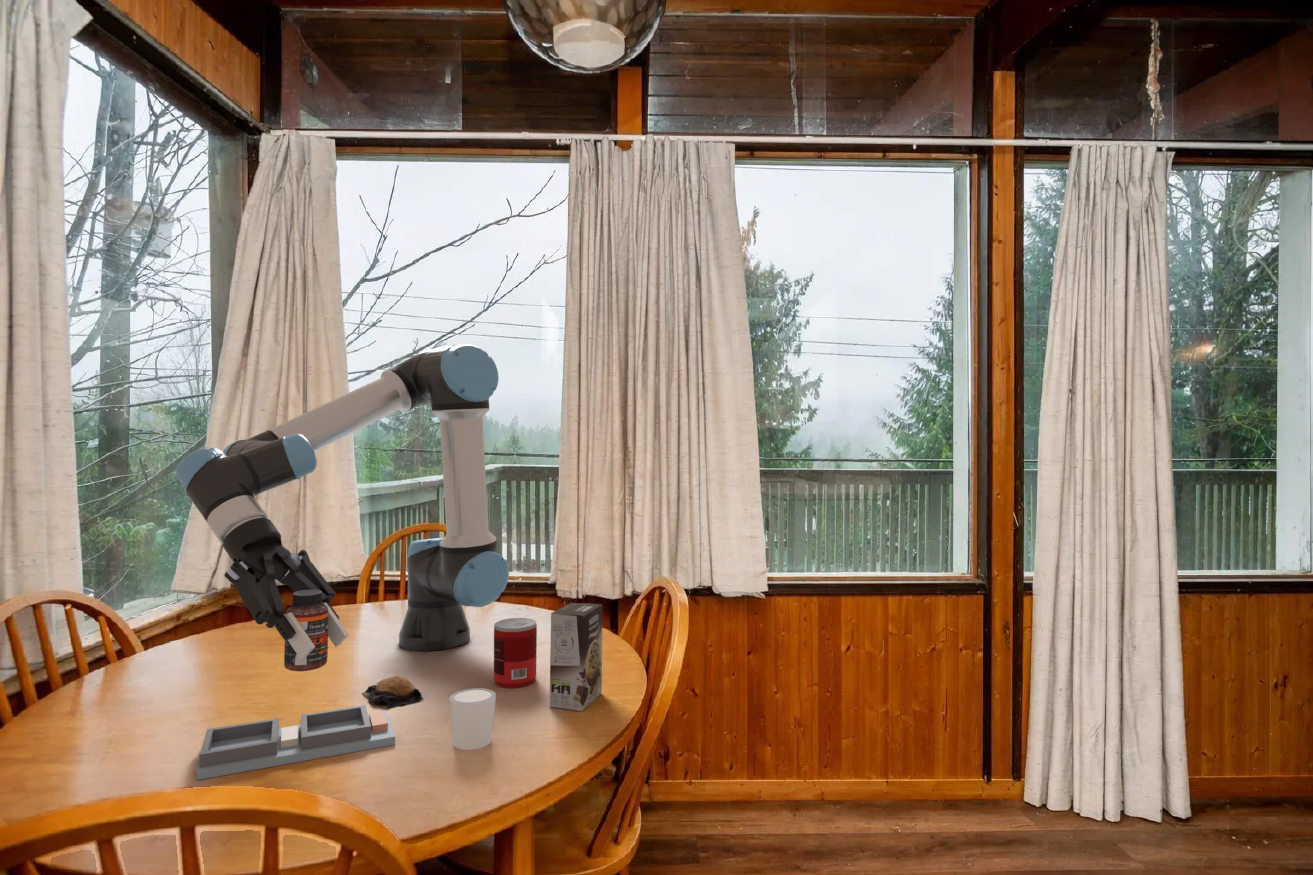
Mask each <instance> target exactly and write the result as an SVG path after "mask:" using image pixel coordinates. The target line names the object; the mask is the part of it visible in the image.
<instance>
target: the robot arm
mask: <svg viewBox="0 0 1313 875" xmlns="http://www.w3.org/2000/svg"><path fill="white" fill-rule="evenodd" d="M498 384H499V371H498V368H497V364H496V362H495V361H494V359H493V358H492V356H491V355H489V353H488V352H487V351H485V349H483V348H481V347H479V346H478V345H477V346H476V345H473V344H460V343H459V344H452V345H449V346H444V347H438V348H429V349H427V350H423V351H421V352H418V353H417V354H415V355H413V356H411V357H410V358H407V359H406V360H404V361H401V362H400V363H398V364H396V365H394V366H392V367H390V368H388V369H386V370H384V371H382V373H381V374H380V378H378V379H376V380H374V381H371V382H370V383H367V384H365V385H362V386H361V387H359V388H356V389H354V390H352V391H350V392H348V393H346V394H343V395H341V396H339V397H337V398H335V399H333V400H330V401H328V402H325V403H324V404H321V405H318V406H317V407H315V408H313V409H311V410H308V411H306V412H304V413H302V414H300V415H297V416H295V417H293V418H291V419H289V420H287V421H285V422H282V423H280V424H278V425H276V426H274V427H271V428H269V429H268V430H266V431H265V430H264V431H263V432H260V433H259V434H257V435H254V436H252V437H250V438H248V439H238V440H237V441H233V442H232V443H230V444H228V445H227V446H226V447H225V448H224V449H223V450H220V449H218V448H216V447H211V448H206V447H204V448H200V449H198V450H197V449H196V450H195V451H192V452H191V453H189V454H188V455H186V456H184V458H182V459H181V460H180V462H179V463H178V465H177V467H176V470H175V475H176V478H177V480H178V481H179V483H180V484H181V487H182V488H183V490H184V492H185V495H186V496H187V497H188V498H189V499H190V500H191V501H192V503H193V505H194V506H195V508H196V509H197V510H198V512H199V513H200V515H201V516H202V517H203V519H204V520H205V522H206V523H207V525H208V526H209V528H210V529H211V531H212V533H213V534H214V536H215V538H216V539H217V540H218V542H220V544H222V547H223V549H224V550H225V552H226V553H227V555H228V557H229V558H230V559H231V562H233V563H232V564H231V566H229V567H228V569H227V570H226V571H225V573H224V577H225V578H226V579H227V581H229V582H230V583H231V584H232V585H233V586H234V588H235V589H236V591H237V593H238V594H239V596H240V597H241V600H242V601H243V603H244V604H245V606H246V607H247V610H248V612H250V615H251V616H252V618H253V619H254V621H255V622H256V624H258V625H263V624H264V623H265V627H267V628H268V629H273V628H276V630H277V633H279V635H280V636H281V638H282V639H283V640H284V641H285V640H288V641H289V643H290V644H291V646H292V647H293V649H294V650H295V652H296V653H297V655H298V656H299V658H300V659H304V658H306V657H307V655H308V654H309V653H310V652H311V651H312V650H313V649H314V648H315V646H314V644H313V643H312V641H311V640H310V638H309V637H308V635H307V634H306V632H305V631H304V630H303V628H302V627H301V625H300V624H299V622H298V621H297V619H296V618H295V616H294V615H293V614H292V612H290V613H287V614H286V610H285V607H284V604H283V600H282V596H281V594H280V592H279V587H278V585H277V582H276V581H278V582H279V583H280V584H281V585H286V586H287V587H288V588H289V589H291V590H292V591H293V593H295V592H297V591H302V590H320V591H322V602H323V603H324V604H325V605H326V606H327V607H328V639H329V640H330V641H331V643H332V645H334V647H336V648H337V647H339V646H340V645H342V644H343V643H344V641H345V640H346V639H347V638H348V637H349V635H350V633H349V632H348V631H347V630H346V627H344V626H343V624H342V622H341V621H340V616H339V614H337V612H336V610H335V609H334V608H333V606H332V605H331V601H333V599H334V598H335V597H336V596H337V594H336V591H335V590H334V589H333V587H331V585H330V584H329V582H328V581H327V580H326V579H325V578H324V576H323V575H322V574H321V572H320V571H319V570H318V569H317V567H316V566H315V565H314V564H313V562H312V561H311V559H310V556H309V554H308V552H307V551H306V549H305V550H304V549H301V550H300V551H299V552H298V553H297V552H291V551H290V550H289V549H288V548H286V547H285V546H284V545H283V542H282V534H281V533H280V531H279V530H278V528H276V525H275V524H274V523H273V521H271V519H270V518H269V516H268V514H267V513H266V511H265V510H264V508H262V506H261V505H260V503H259V502H258V501H257V499H256V497H255V496H258V495H259V494H261V493H264V492H267V491H270V490H272V489H275V488H277V487H280V486H282V485H285V484H287V483H290V482H293V481H296V480H300V479H301V478H304V477H305V476H307V475H309V474H311V473H313V472H314V471H315V470H316V469H317V464H318V463H317V461H318V459H317V456H316V452H317V451H319V450H321V449H324V448H326V447H327V446H330V445H331V444H333V443H335V442H338V441H340V440H342V439H343V438H345V437H348V436H349V435H352V434H353V433H355V432H358V431H360V430H362V429H364V428H365V427H367V426H369V425H372V424H374V423H375V422H379V421H380V420H381V419H384V418H385V417H388V416H390V415H392V414H394V413H396V412H403V413H407V412H408V411H411V410H413V409H415V408H418V407H421V406H423V405H424V406H425V405H429V404H430V405H431V406H430V408H431V413H432V414H433V415H434V416H435V417H437V419H438V420H439V425H440V426H439V428H440V429H439V430H440V443H441V444H440V446H441V462H442V463H441V464H442V477H443V482H442V483H443V497H444V515H445V529H446V531H445V532H446V534H445V536H444V537H436V538H427V539H418V540H413V541H411V543H410V544H409V545H408V550H407V556H406V557H407V558H406V559H407V560H406V561H407V610H406V613H405V615H404V619H403V620H402V625H401V627H400V630H399V632H398V633H399V634H398V645H399V646H400V647H401V648H403V649H406V650H410V651H411V650H412V651H427V652H428V651H439V650H448V649H452V648H457V647H459V646H462V645H465V644H466V643H468V642H469V641H470V639H471V629H470V626H469V622H468V619H467V616H466V612H465V610H464V607H471V608H472V607H473V608H483V607H487V606H489V605H490V604H491V605H492V604H493V603H494V602H495V601H497V599H498V598H500V596H501V594H502V593H503V592H504V591H505V589H506V587H507V584H508V582H509V576H510V571H509V570H510V568H509V565H508V562H507V560H506V559H505V558H504V557H503V556H502V555H501V553H498V545H497V544H498V543H497V542H498V539H497V537H496V536H495V535H494V534H493V533H492V532H491V531H490V528H489V515H488V514H489V512H488V497H487V496H488V495H487V491H488V490H487V476H486V474H487V473H486V461H485V458H486V457H485V443H484V442H485V440H484V439H485V438H484V437H485V436H484V424H483V422H484V420H483V418H484V417H485V415H486V414H487V413H488V412H489V411H490V398H491V397H492V396H493V395H494V392H495V391H496V390H497V388H498ZM463 606H464V607H463ZM285 614H286V616H285Z"/></svg>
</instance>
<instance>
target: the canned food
mask: <svg viewBox="0 0 1313 875" xmlns="http://www.w3.org/2000/svg"><path fill="white" fill-rule="evenodd" d="M493 626H494V627H493V680H494V684H495V685H496V686H498V687H500V688H504V689H505V688H506V689H517V688H523V687H527V686H530V685H532V684H533V683H534V682H535V681H536V677H537V646H538V645H537V642H538V641H537V640H538V639H537V638H538V637H537V636H538V633H537V632H538V629H537V627H538V624H537V621H536V620H535V619H532V618H527V617H511V618H505V619H504V618H503V619H501V620H498V621H496V622H495V623H494V625H493Z"/></svg>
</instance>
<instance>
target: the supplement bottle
mask: <svg viewBox="0 0 1313 875" xmlns="http://www.w3.org/2000/svg"><path fill="white" fill-rule="evenodd" d="M291 600H292V604H291V606H289V607H287V609H286V610H285V614H284V615H285V616H286V614H287V613H290V612H292V614H293V615H294V616H295V618H296V619H297V621H298V622H299V624H300V625H301V627H302V628H303V630H304V631H305V632H306V634H307V635H308V637H309V638H310V640H311V641H312V643H313V644H314V646H315V648H314V649H313V650H312V651H311V652H310V653H309V654H308V655H307V657H306V658H304V659H300V658H299V656H298V655H297V653H296V652H295V650H294V649H293V647H292V646H291V644H290V643H289V641H288V640H284V653H283V654H284V656H283V663H284V664H283V666H284V668H285V669H287V670H288V671H292V672H307V671H309V672H310V671H313V670H314V671H315V670H318V669H320V668H322V667H324V666H325V665H326V664H327V662H328V653H329V652H328V650H329V645H328V644H329V637H328V607H327V606H326V605H325V604H324V603H323V602H322V591H320V590H302V591H297V592H293V593H292V599H291Z"/></svg>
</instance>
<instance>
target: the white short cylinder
mask: <svg viewBox="0 0 1313 875" xmlns="http://www.w3.org/2000/svg"><path fill="white" fill-rule="evenodd" d="M496 694H497V693H496V691H494V690H491V689H489V688H488V689H487V688H481V687H480V688H478V687H477V688H476V687H475V688H467V689H466V688H465V689H463V690H458V691H456V692H453V693H452V694H451V695H450V696H449V697H448V698H449V699H448V700H449V711H450V712H449V713H450V722H451V733H452V734H451V735H452V745H453V747H454V748H455V749H459V750H461V751H475V750H479V749H483V748H485V747H487V746H490V744H491V743H492V740H493V738H492V737H493V732H494V730H493V729H494V721H495V720H494V718H495V708H496V701H497V700H496V698H497V695H496Z"/></svg>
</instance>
